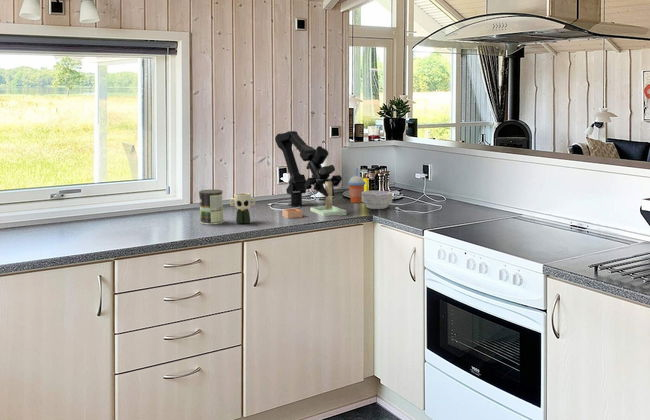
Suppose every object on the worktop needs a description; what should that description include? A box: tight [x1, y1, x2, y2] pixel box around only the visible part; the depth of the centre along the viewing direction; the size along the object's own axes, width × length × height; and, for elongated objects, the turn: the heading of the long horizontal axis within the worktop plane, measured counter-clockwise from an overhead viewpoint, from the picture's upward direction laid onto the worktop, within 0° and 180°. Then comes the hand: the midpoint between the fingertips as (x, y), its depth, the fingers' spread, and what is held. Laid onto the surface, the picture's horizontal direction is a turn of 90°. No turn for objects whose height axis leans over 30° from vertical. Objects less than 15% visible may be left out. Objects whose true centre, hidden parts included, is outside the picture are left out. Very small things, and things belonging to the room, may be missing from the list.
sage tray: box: [309, 205, 347, 217], centre depth 300 cm, size 16×12×2 cm
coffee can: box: [198, 189, 225, 226], centre depth 280 cm, size 10×10×14 cm
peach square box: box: [281, 207, 303, 219], centre depth 290 cm, size 7×7×4 cm
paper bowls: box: [361, 190, 393, 210], centre depth 313 cm, size 15×15×8 cm
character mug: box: [229, 192, 256, 224], centre depth 278 cm, size 11×7×13 cm, turn 98°
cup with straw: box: [347, 167, 366, 204], centre depth 330 cm, size 9×9×18 cm
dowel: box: [324, 181, 333, 210], centre depth 297 cm, size 3×3×13 cm
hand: (330, 195), depth 296 cm, fingers closed on dowel, 3 cm apart
